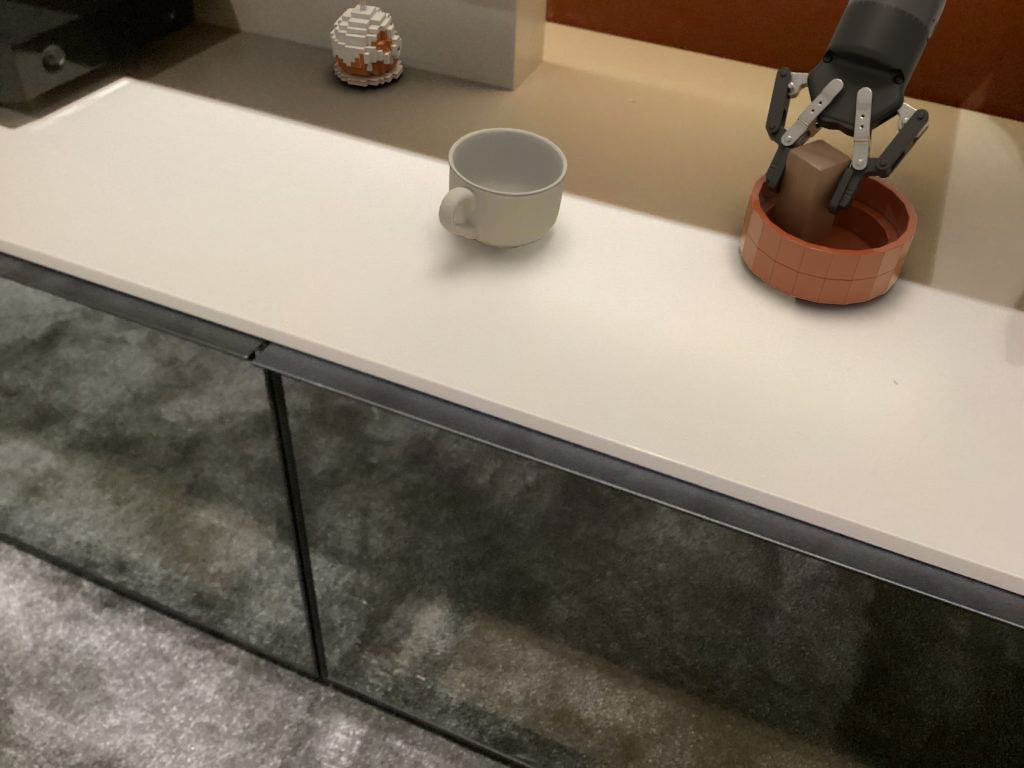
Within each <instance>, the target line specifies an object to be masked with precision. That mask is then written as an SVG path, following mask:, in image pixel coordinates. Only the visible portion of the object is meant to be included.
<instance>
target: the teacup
mask: <svg viewBox="0 0 1024 768" xmlns="http://www.w3.org/2000/svg"><path fill="white" fill-rule="evenodd" d="M447 161H448V162H447V163H448V166H449V170H448V171H449V172H448V174H449V175H448V192H447V193H446V194H445V195H444V197H443V199H442V200H441V203H440V205H439V209H438V220H439V223H440V225H441V226H442V227H443V228H444V229H445V230H447V232H449V233H452V234H454V235H458V236H462V237H464V238H466V239H468V240H473V239H474V240H475V241H477V242H479V243H481V244H483V245H485V246H489V247H491V248H496V249H497V248H498V249H515V248H520V247H523V246H526V245H529V244H531V243H533V242H536V241H537V240H540V239H541V238H542V237H544V236H545V235H547V233H549V231H551V229H552V228H553V226H554V225H555V223H556V221H557V219H558V215H559V212H560V210H561V209H560V208H561V204H562V198H563V194H564V193H563V192H564V185H565V178H566V176H567V172H568V167H569V166H568V160H567V157H566V155H565V154H564V152H563V150H561V148H559V146H558V145H557V144H555V143H553V142H552V141H551V140H550V139H548V138H547V137H546V136H542V135H539V134H537V133H534V132H532V131H529V130H524V129H519V128H511V127H491V128H489V127H487V128H483V129H478V130H475V131H472V132H469V133H466V134H464V135H462V136H461V137H460V138H458V139H457V140H456V141H455V142H454V143H453V144H452V145H451V147H450V149H449V151H448V157H447Z"/></svg>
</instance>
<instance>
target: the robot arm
mask: <svg viewBox="0 0 1024 768" xmlns="http://www.w3.org/2000/svg"><path fill="white" fill-rule="evenodd" d="M946 3H947V0H848V3H847V5H846V7H845V9H844V12H843V14H842V15H841V18H840V20H839V22H838V24H837V27H836V28H835V31H834V33H833V34H832V37H831V39H830V41H829V44H828V45H827V48H826V49H825V52H824V54H823V56H822V58H821V60H820V62H819V63H818V64H817V65H816V66H815V67H813V68H812V69H811V70H810V71H809V72H795V71H793V72H792V71H791V69H790V68H789V67H787V66H782V67H780V68H779V69H778V70H777V71H776V73H775V79H774V85H773V88H772V94H771V99H770V103H769V108H768V112H767V118H766V122H765V126H764V127H765V130H766V133H767V135H768V137H769V140H770V141H772V142H774V143H776V144H777V146H778V147H777V149H776V151H775V153H774V156H773V157H772V160H771V162H770V164H769V167H768V168H767V170H766V172H765V174H766V181H767V183H768V188H769V190H770V192H773V193H775V194H778V193H779V190H780V186H781V182H782V178H783V174H784V170H785V166H786V161H787V157H788V153H789V151H790V150H791V149H794V148H796V147H799V146H802V145H805V144H806V143H807V141H809V139H812V138H813V137H815V136H816V135H817V134H818V133H819V132H820V131H821V129H822V128H823V129H825V130H829V131H839V132H841V133H843V134H844V135H846V136H847V137H851V138H853V146H852V147H853V150H852V158H851V165H850V169H848V168H846V170H845V172H844V174H843V176H842V178H841V181H840V183H839V185H838V187H837V189H836V191H835V193H834V195H833V197H832V199H831V201H830V204H829V206H828V211H829V213H830V214H833V215H836V216H837V215H838V214H839V212H840V210H842V211H846V210H847V209H848V208H849V207H850V206H851V204H852V202H853V200H854V198H855V196H856V193H857V191H858V189H859V187H860V185H861V183H862V181H863V180H864V179H865V178H867V177H870V176H876V177H879V178H880V179H887V178H889V177H890V176H891V175H892V174H893V172H894V171H895V170H896V169H897V167H898V166H899V165H900V164H901V162H903V160H904V158H906V156H907V155H908V153H909V152H910V151H912V149H913V148H914V146H915V145H916V144H917V142H918V141H919V140H920V139H921V137H923V135H924V134H925V133H926V131H927V130H928V129H929V124H930V114H929V111H928V110H926V109H924V108H919V109H917V108H915V107H913V106H911V105H910V104H908V103H907V102H905V91H906V89H907V86H908V84H909V82H910V80H911V78H912V76H913V74H914V71H915V69H916V67H917V65H918V63H919V61H920V59H921V57H922V55H923V53H924V51H925V49H926V46H927V45H928V42H929V40H930V39H931V36H933V34H934V33H935V31H936V29H937V27H938V24H939V23H938V22H939V20H940V18H941V15H942V13H943V11H944V9H945V6H946ZM805 88H807V89H808V94H809V99H810V104H808V106H806V108H805V109H804V110H802V112H801V113H800V114H799V115H798V117H797V119H796V120H795V122H794V123H793V124H792V125H791V126H790V127H789V128H787V129H786V122H787V117H788V112H789V108H790V105H791V100H793V99H796V98H797V97H798V96H799V95H800V92H801V91H802V90H803V89H805ZM897 116H898V117H899V119H898V121H897V131H898V132H897V133H896V135H895V136H894V138H893V139H892V140H891V141H890V142H889V144H888V145H887V146H886V147H885V149H884V150H883V151H882V152H881V154H880V155H879V156H878V157H871V150H872V139H873V131H874V130H875V129H876V128H878V127H880V126H881V125H883V124H885V123H886V122H888V121H890V120H891V119H893V118H895V117H897Z"/></svg>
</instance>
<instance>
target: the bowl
mask: <svg viewBox="0 0 1024 768" xmlns="http://www.w3.org/2000/svg"><path fill="white" fill-rule="evenodd" d="M849 169H850V168H849ZM777 197H778V194H775V193H773V192H770V190H769V188H768V183H767V181H766V173H764V174H763V175H761V177H759V178H758V179H757V180H755V182H754V184H753V187H752V189H751V191H750V194H749V199H748V203H747V207H746V211H745V216H744V219H743V223H742V228H741V232H740V237H739V249H740V255H741V259H742V260H743V262H744V263H745V264H746V266H747V267H748V269H749V270H750V272H752V274H754V275H755V276H756V277H758V278H759V279H760V280H761V281H763V282H764V283H765V284H766V285H768V286H770V287H772V288H774V289H776V290H778V291H780V292H782V293H784V294H787V295H788V296H791V297H793V298H797V299H801V300H805V301H808V302H812V303H815V304H817V303H818V304H829V305H843V306H844V305H850V304H858V303H864V302H868V301H871V300H872V299H875V298H878V297H879V296H881V295H883V294H886V293H887V292H888V291H889V290H890V289H891V287H893V285H894V284H895V283H896V282H897V280H898V278H899V275H900V273H901V270H902V267H903V265H904V262H905V260H906V258H907V254H908V252H909V249H910V246H911V244H912V241H913V239H914V236H915V234H916V230H917V225H918V216H917V213H916V210H915V208H914V206H913V204H912V202H911V201H910V200H909V199H908V198H907V197H906V195H904V193H902V191H901V190H900V189H898V188H896V187H895V186H893V185H892V184H890V183H889V182H887V181H885V180H884V179H883V178H880V177H879V176H870V177H867V178H865V179H864V180H863V181H862V183H861V185H860V187H859V189H858V191H857V193H856V196H855V198H854V200H853V202H852V204H851V206H850V207H849V208H848V209H847V210H846V211H842V210H840V212H839V214H838V215H837V216H836V215H835V217H834V221H833V224H832V227H831V230H830V232H829V233H828V234H826V235H824V236H821V237H819V238H816V239H814V240H811V241H809V242H806V241H803V240H801V239H799V238H797V237H794V236H792V235H790V234H788V233H786V232H785V231H783V230H782V229H781V228H779V227H778V226H776V225H775V224H774V223H772V222H771V221H772V217H773V213H774V209H775V205H776V201H777Z"/></svg>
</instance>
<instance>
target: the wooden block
mask: <svg viewBox="0 0 1024 768" xmlns="http://www.w3.org/2000/svg"><path fill="white" fill-rule="evenodd" d="M851 165H852V158H851V156H849V155H847V153H844V152H843V151H841V150H839V149H838V148H836V147H835V146H833V145H832V144H830V143H828V142H827V141H825V140H824V139H816V140H814V141H811V142H808V143H805V144H804V145H802V146H799V147H796V148H794V149H791V150H790V151H789V153H788V157H787V161H786V166H785V170H784V174H783V178H782V182H781V186H780V190H779V193H778V197H777V201H776V205H775V209H774V213H773V217H772V221H771V222H772V223H774V224H775V225H776V226H778V227H779V228H781V229H782V230H783V231H785V232H786V233H788V234H790V235H792V236H794V237H797V238H799V239H801V240H803V241H806V242H809V241H811V240H814V239H816V238H819V237H821V236H824V235H826V234H828V233H829V232H830V230H831V227H832V224H833V221H834V217H835V215H833V214H830V213H829V211H828V206H829V204H830V201H831V199H832V197H833V195H834V193H835V191H836V189H837V187H838V185H839V183H840V181H841V178H842V176H843V174H844V172H845V170H846V168H848V169H849V168H850V167H851Z"/></svg>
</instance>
